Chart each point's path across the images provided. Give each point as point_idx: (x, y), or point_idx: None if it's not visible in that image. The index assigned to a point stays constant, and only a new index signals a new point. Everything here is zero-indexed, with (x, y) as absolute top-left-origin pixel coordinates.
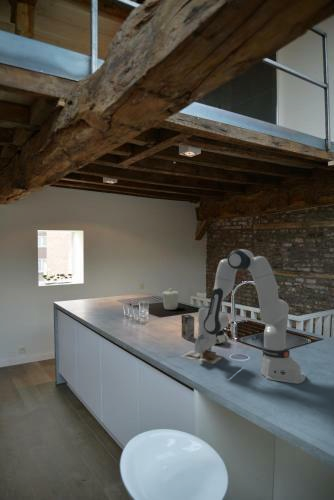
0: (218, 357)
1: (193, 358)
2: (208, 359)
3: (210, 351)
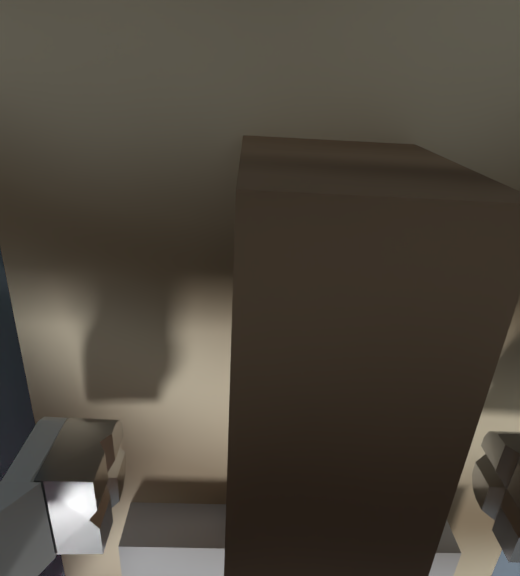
0: (48, 107)
1: (462, 568)
2: None
3: (254, 450)
